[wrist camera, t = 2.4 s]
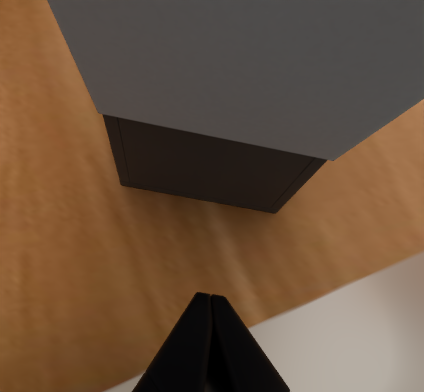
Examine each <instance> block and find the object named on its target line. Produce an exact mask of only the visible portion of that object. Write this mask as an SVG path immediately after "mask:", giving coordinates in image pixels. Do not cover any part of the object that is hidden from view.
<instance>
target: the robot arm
mask: <svg viewBox="0 0 424 392" xmlns="http://www.w3.org/2000/svg"><path fill="white" fill-rule="evenodd" d="M132 392H290V389H289V388H288V386H287V385H286V383H285V382H284V381H283V379H282V377H281V376H280V375H279V373H278V372H277V370H276V369H275V368H274V366H273V365H272V363H271V362H270V360H269V359H268V358H267V356H266V355H265V353H264V352H263V350H262V349H261V347H260V346H259V345H258V343H257V342H256V340H255V339H254V338H253V336H252V334H251V333H250V332H249V330H248V329H247V327H246V326H245V324H244V323H243V322H242V320H241V319H240V317H239V316H238V314H237V313H236V312H235V310H234V309H233V307H232V306H231V304H230V303H229V301H228V300H227V299H226V297H224V296H220V295H214V294H212V295H211V296H210V294H208V293H201V292H197V293H196V294H195V295H194V297H193V298H192V300H191V301H190V303H189V305H188V306H187V308H186V309H185V311H184V312H183V314H182V315H181V317H180V319H179V320H178V322H177V323H176V325H175V326H174V328H173V329H172V331H171V333H170V334H169V336H168V337H167V339H166V340H165V342H164V343H163V345H162V347H161V348H160V350H159V351H158V353H157V354H156V356H155V357H154V359H153V360H152V362H151V364H150V365H149V367H148V368H147V370H146V372H145V373H144V374H143V376H142V377H141V379H140V380H139V382H138V383H137V385H136V387H135V388H134V389H133V391H132Z"/></svg>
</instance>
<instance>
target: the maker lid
mask: <svg viewBox="0 0 424 392" xmlns="http://www.w3.org/2000/svg"><path fill="white" fill-rule="evenodd" d="M47 1H48V3H49V5H50V7H51V10H52V12H53V14H54V16H55V18H56V21H57V23H58V25H59V27H60V29H61V32H62V34H63V36H64V38H65V40H66V43H67V45H68V47H69V49H70V52H71V54H72V56H73V58H74V60H75V63H76V65H77V67H78V69H79V71H80V74H81V76H82V78H83V80H84V82H85V85H86V87H87V89H88V91H89V93H90V96H91V98H92V100H93V102H94V104H95V107H96V109H97V111H98V113H100V114H105V115H110V116H115V117H119V118H124V119H129V120H134V121H139V122H144V123H149V124H154V125H159V126H164V127H169V128H174V129H179V130H184V131H189V132H193V133H198V134H203V135H208V136H213V137H218V138H223V139H228V140H233V141H238V142H243V143H248V144H253V145H258V146H263V147H268V148H272V149H277V150H282V151H287V152H292V153H297V154H302V155H307V156H312V157H317V158H322V159H327V160H332V161H334V160H335V159H337V158H338V157H340V156H341V155H343V154H344V153H346V152H347V151H349V150H350V149H351V148H353V147H354V146H356V145H357V144H359V143H360V142H362V141H363V140H365V139H366V138H367V137H369V136H370V135H372V134H373V133H375V132H376V131H378V130H379V129H381V128H382V127H383V126H385V125H386V124H388V123H389V122H391V121H392V120H394V119H395V118H397V117H398V116H399V115H401V114H402V113H404V112H405V111H407V110H408V109H410V108H411V107H413V106H414V105H416V104H417V103H418V102H420V101H421V100H423V99H424V0H47Z"/></svg>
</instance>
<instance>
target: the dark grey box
mask: <svg viewBox="0 0 424 392" xmlns="http://www.w3.org/2000/svg"><path fill="white" fill-rule="evenodd" d="M103 118H104V122H105V126H106V129H107V133H108V137H109V141H110V145H111V149H112V152H113V156H114V160H115V164H116V168H117V172H118V175H119V179H120V183H121V185H124V186H129V187H135V188H140V189H145V190H151V191H156V192H162V193H167V194H173V195H178V196H183V197H189V198H194V199H200V200H205V201H211V202H216V203H221V204H227V205H232V206H238V207H243V208H249V209H254V210H260V211H265V212H270V213H277V212H278V211H279V210H280V209H281V208H282V206H283V205H284V204H285V203H286V202H287V201H288V200H289V199H290V198H291V197H292V196H293V195H294V194H295V193H296V192H297V191H298V190H299V189H300V188H301V187H302V186H303V185H304V184H305V183H306V182H307V181H308V180H309V179H310V178H311V177H312V176H313V175H314V174H315V173H316V171H317V170H318V169H319V168H320V167H321V166H322V165H323V164H324V163H325V162H326V161H327V159H322V158H317V157H312V156H307V155H302V154H297V153H292V152H287V151H282V150H277V149H272V148H268V147H263V146H258V145H253V144H248V143H243V142H238V141H233V140H228V139H223V138H218V137H213V136H208V135H203V134H198V133H193V132H189V131H184V130H179V129H174V128H169V127H164V126H159V125H154V124H149V123H144V122H139V121H134V120H129V119H124V118H119V117H115V116H110V115H105V114H103Z"/></svg>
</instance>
